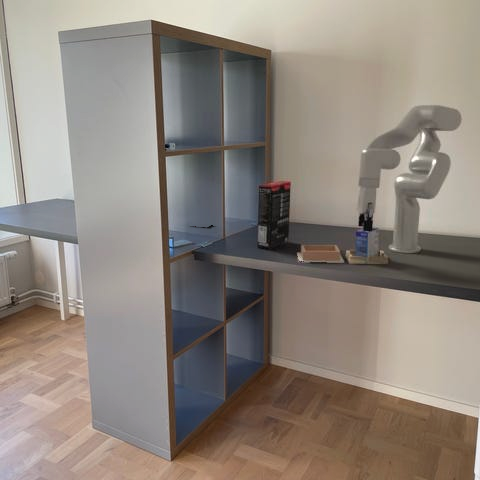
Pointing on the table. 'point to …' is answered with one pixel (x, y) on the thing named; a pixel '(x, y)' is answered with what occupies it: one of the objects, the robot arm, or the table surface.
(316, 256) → the tray
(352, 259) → the beige rectangular frame
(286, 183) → the graphics card box
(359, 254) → the ink cartridge box
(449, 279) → the table surface
